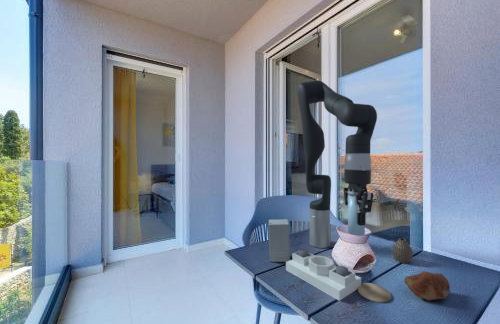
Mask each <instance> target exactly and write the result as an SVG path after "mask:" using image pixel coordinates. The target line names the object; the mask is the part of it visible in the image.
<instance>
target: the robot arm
mask: <svg viewBox="0 0 500 324" xmlns="http://www.w3.org/2000/svg"><path fill="white" fill-rule="evenodd" d="M296 92H297V94H296V95H297V102H298V107H299V112H300V113H299V114H300V119H301V128H302V141H303V150H304V151H303V153H304V160H305V162H304V163H305V184H306V185H305V186H306V190H307V192H308V193H309V194H313V195H321V198H319V199H316V200H312V201H310V202H309V245H310V246H312V247H314V248H319V249H327V248H330V246H331V244H332V242H331V241H332V240H331V238H332V236H331V235H332V224H331V195H332V194H331V192H332V191H331V190H332V180H331V176H329V175H328V174H316V173H315V169H316V168H315V167H316V165H317V163H318V161H319V159H320V158H321V156H322V155H323V153H324V150H325V148H326V147H325V146H326V144H325V134H324V131H323V128H322V127H321V126H320V125H319V123H318V122H317V121H316V119H315V118H314V116H313V115H312V112H311V108H310V105H311V104H318V103H322V102H323V105H324V106H323V107H324V109H325V110H326V111H327V112H328V113H330V114H331V115H333V116H335V117H336V119H337V120H338V121H339V123H340V124H341V125H344V126H346V127H352V128H353V127H354V128H357V129H356V132H355V134H349V135H347V136H346V139H345V155H344V156H345V157H344V165H343V166H344V173H343V174H344V179H343V180H344V181H343V182H344V183H345V184H348V185H347V186H346V187H343V197H344V198H343V199H344V205H345V206H346V207H347V208H348V191H352V192H354V195H355V197H354V203H355V205H356V206H357V211H358V213H357V224H358V225H360V226H364V225H365V226H366V224H367V223H366V217H367V216H366V215H367V213H371V212H372V207H373V200H374V193H373V192H369V191H368V188H367V185H370V184H371V183H372V158H371V140H372V137H373V133H374V130H375V127H376V124H377V120H378V119H377V118H378V113H377V109H376V107H375V106H373V105H372V104H363V103H354V101H353V100H352V99H351V98H349V97H347V96H344V95H343V94H340V93H337V92H336V91H334V89H332V88H331V87H330V86H329V85H328V84H326V83H325V82H324V81H321V80H311V81H303V82H300V83H298V85H297V89H296ZM355 193H358V196H357V195H356V194H355ZM358 200H362V202H358ZM360 205H361V208H360Z"/></svg>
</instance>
